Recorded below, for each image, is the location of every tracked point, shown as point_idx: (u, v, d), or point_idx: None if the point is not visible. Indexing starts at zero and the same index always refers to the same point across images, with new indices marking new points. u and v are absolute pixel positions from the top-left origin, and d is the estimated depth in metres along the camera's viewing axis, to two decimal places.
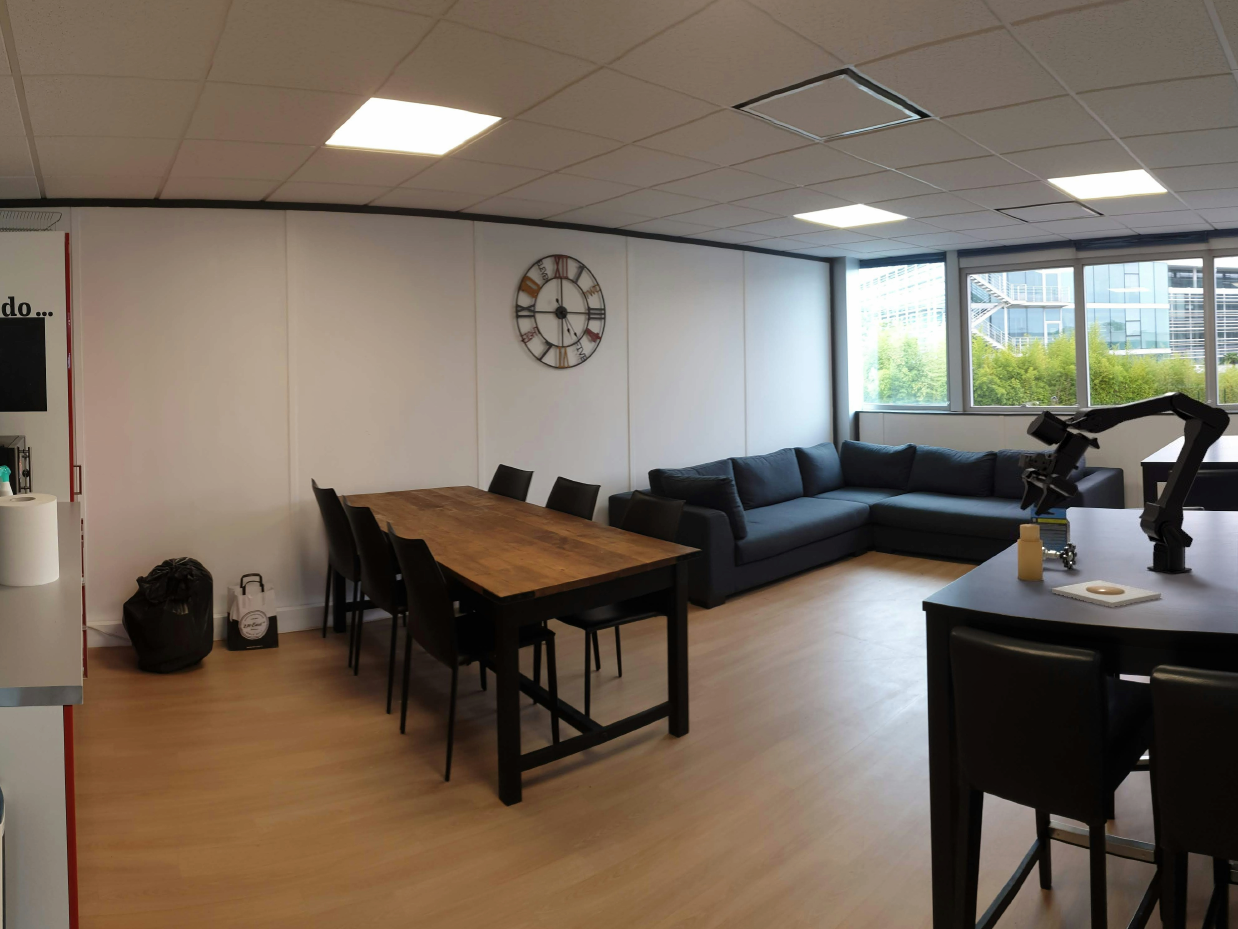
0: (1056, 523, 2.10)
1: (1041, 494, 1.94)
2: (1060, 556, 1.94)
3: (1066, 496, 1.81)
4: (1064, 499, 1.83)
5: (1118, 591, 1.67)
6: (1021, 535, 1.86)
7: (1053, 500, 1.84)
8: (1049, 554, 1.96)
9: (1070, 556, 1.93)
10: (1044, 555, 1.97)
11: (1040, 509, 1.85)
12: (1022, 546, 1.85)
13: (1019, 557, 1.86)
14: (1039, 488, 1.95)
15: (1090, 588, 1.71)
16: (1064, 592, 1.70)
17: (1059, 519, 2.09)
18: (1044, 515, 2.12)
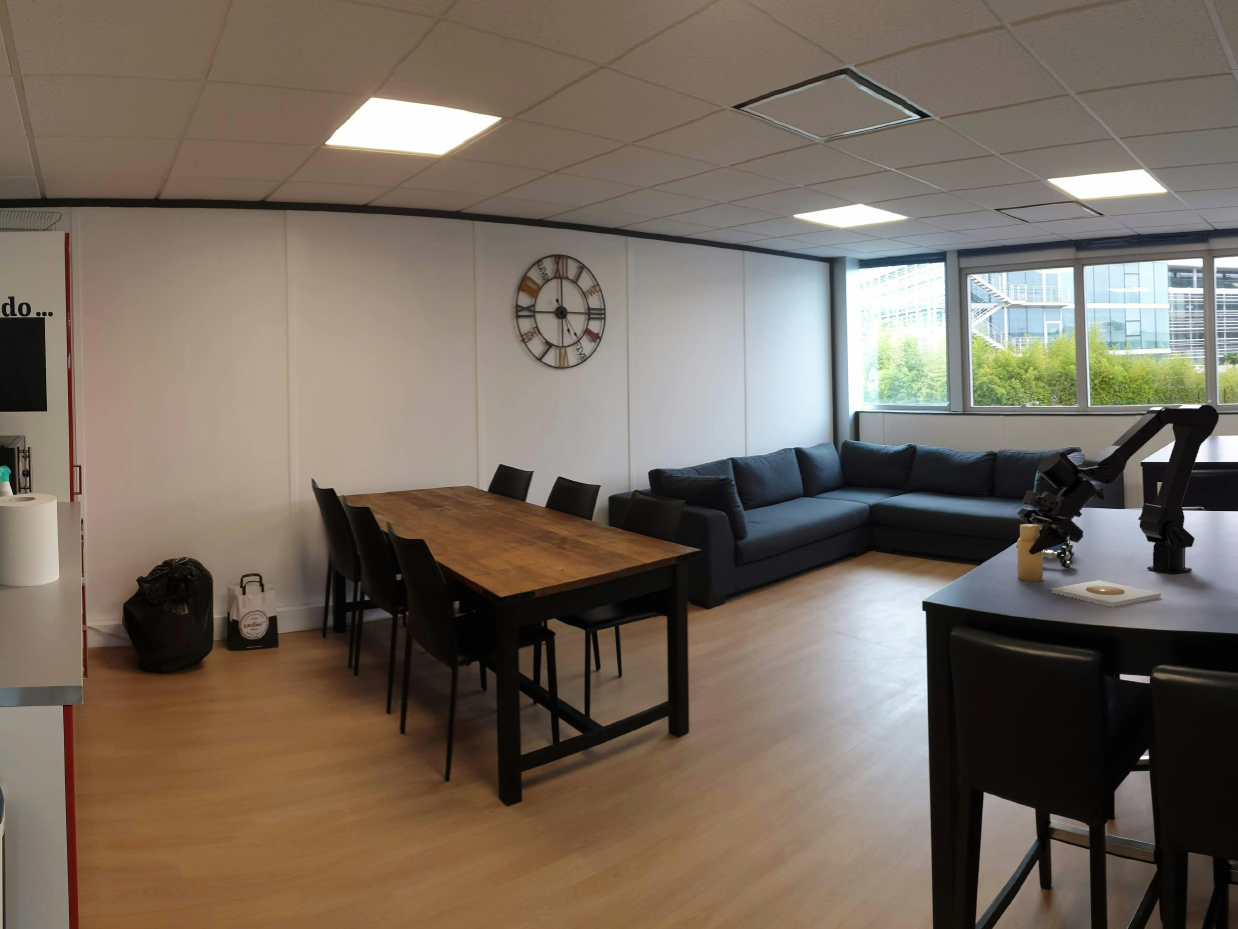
0: None
1: (1039, 536, 1.89)
2: (1057, 555, 1.95)
3: (1065, 539, 1.80)
4: (1061, 542, 1.81)
5: (1118, 591, 1.67)
6: (1021, 535, 1.86)
7: (1050, 541, 1.82)
8: (1046, 554, 1.97)
9: (1067, 555, 1.94)
10: None
11: (1035, 548, 1.83)
12: (1022, 546, 1.85)
13: (1019, 557, 1.86)
14: None
15: (1090, 588, 1.71)
16: (1064, 592, 1.70)
17: None
18: None
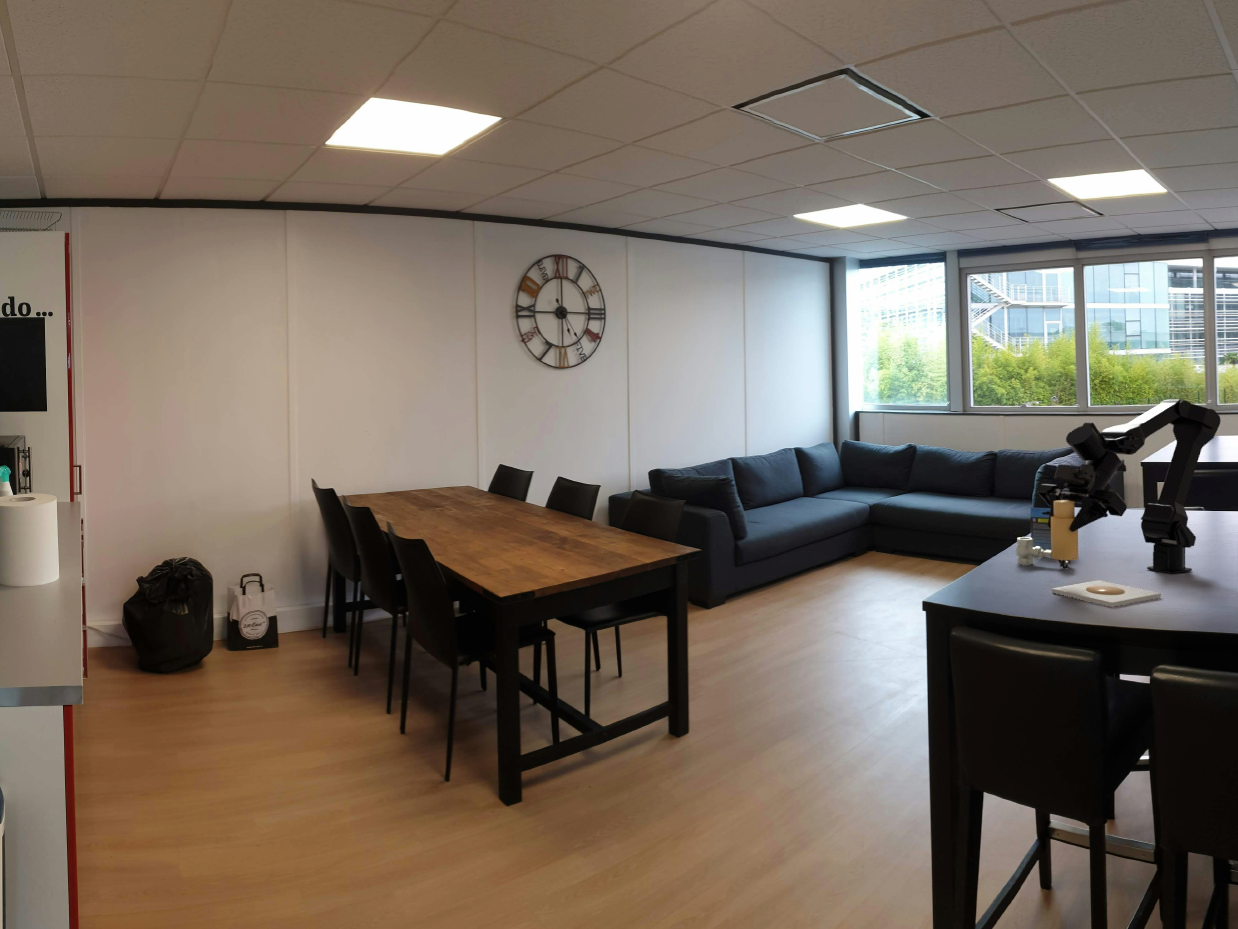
0: None
1: None
2: None
3: (1106, 513, 1.71)
4: (1100, 516, 1.72)
5: (1118, 591, 1.67)
6: (1057, 512, 1.75)
7: (1089, 516, 1.72)
8: (1045, 553, 1.98)
9: None
10: (1040, 554, 1.98)
11: (1076, 525, 1.72)
12: (1060, 524, 1.74)
13: (1056, 536, 1.75)
14: None
15: (1090, 588, 1.71)
16: (1064, 592, 1.70)
17: None
18: (1044, 515, 2.12)
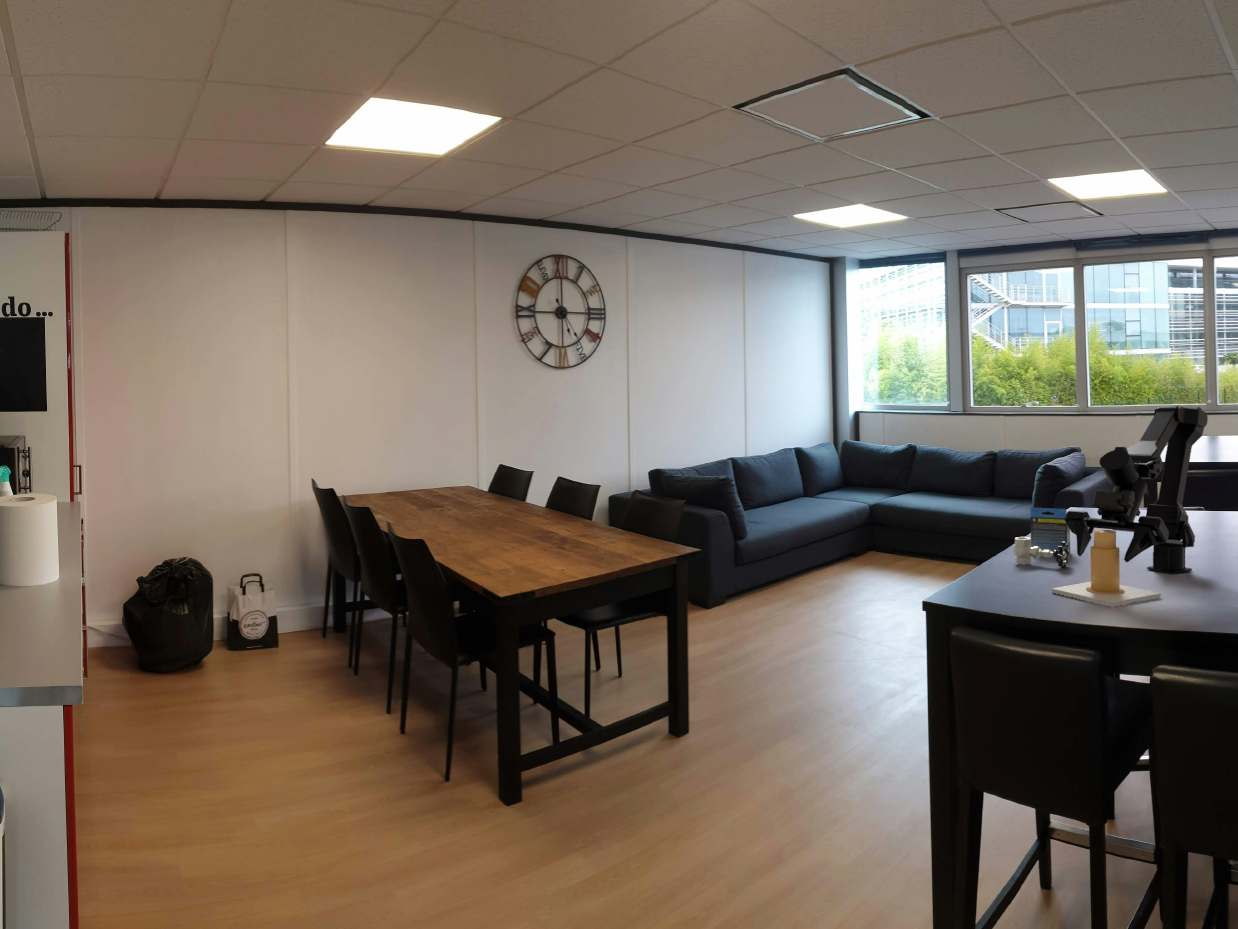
0: (1056, 523, 2.10)
1: (1089, 540, 1.75)
2: (1054, 555, 1.96)
3: (1157, 541, 1.64)
4: (1150, 545, 1.65)
5: None
6: (1100, 543, 1.67)
7: (1141, 545, 1.65)
8: (1043, 553, 1.98)
9: (1064, 555, 1.95)
10: (1038, 554, 1.99)
11: (1131, 555, 1.64)
12: (1105, 555, 1.66)
13: (1099, 567, 1.67)
14: (1088, 533, 1.75)
15: (1090, 588, 1.71)
16: (1064, 592, 1.70)
17: (1059, 519, 2.09)
18: (1044, 515, 2.12)
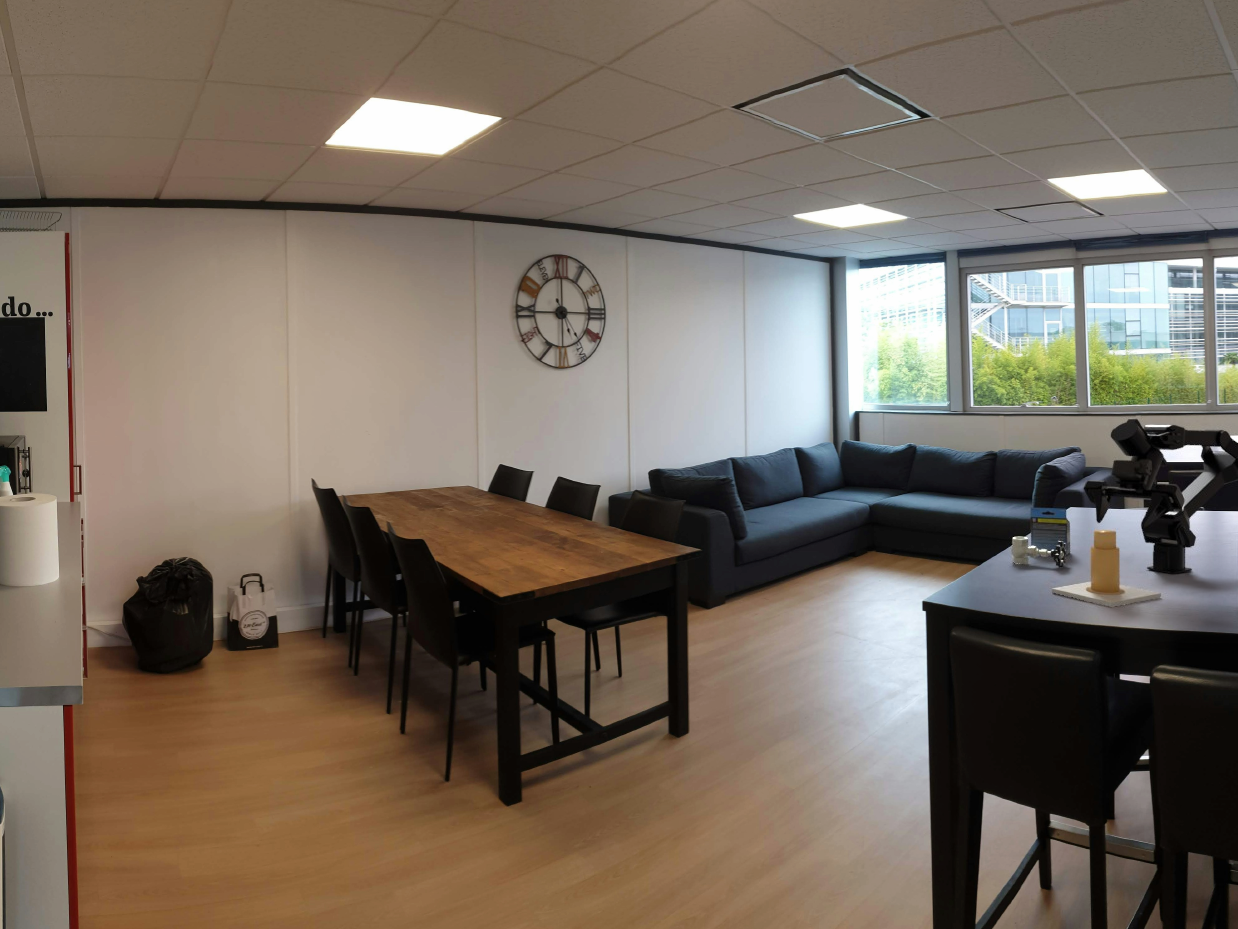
0: (1056, 523, 2.10)
1: (1107, 508, 1.83)
2: (1051, 554, 1.97)
3: (1173, 507, 1.73)
4: (1166, 511, 1.74)
5: None
6: (1100, 543, 1.67)
7: (1157, 511, 1.73)
8: (1040, 553, 1.99)
9: (1061, 554, 1.95)
10: (1035, 554, 1.99)
11: (1148, 520, 1.72)
12: (1105, 555, 1.66)
13: (1100, 567, 1.67)
14: (1106, 501, 1.83)
15: (1090, 588, 1.71)
16: (1064, 592, 1.70)
17: (1059, 519, 2.09)
18: (1044, 515, 2.12)
